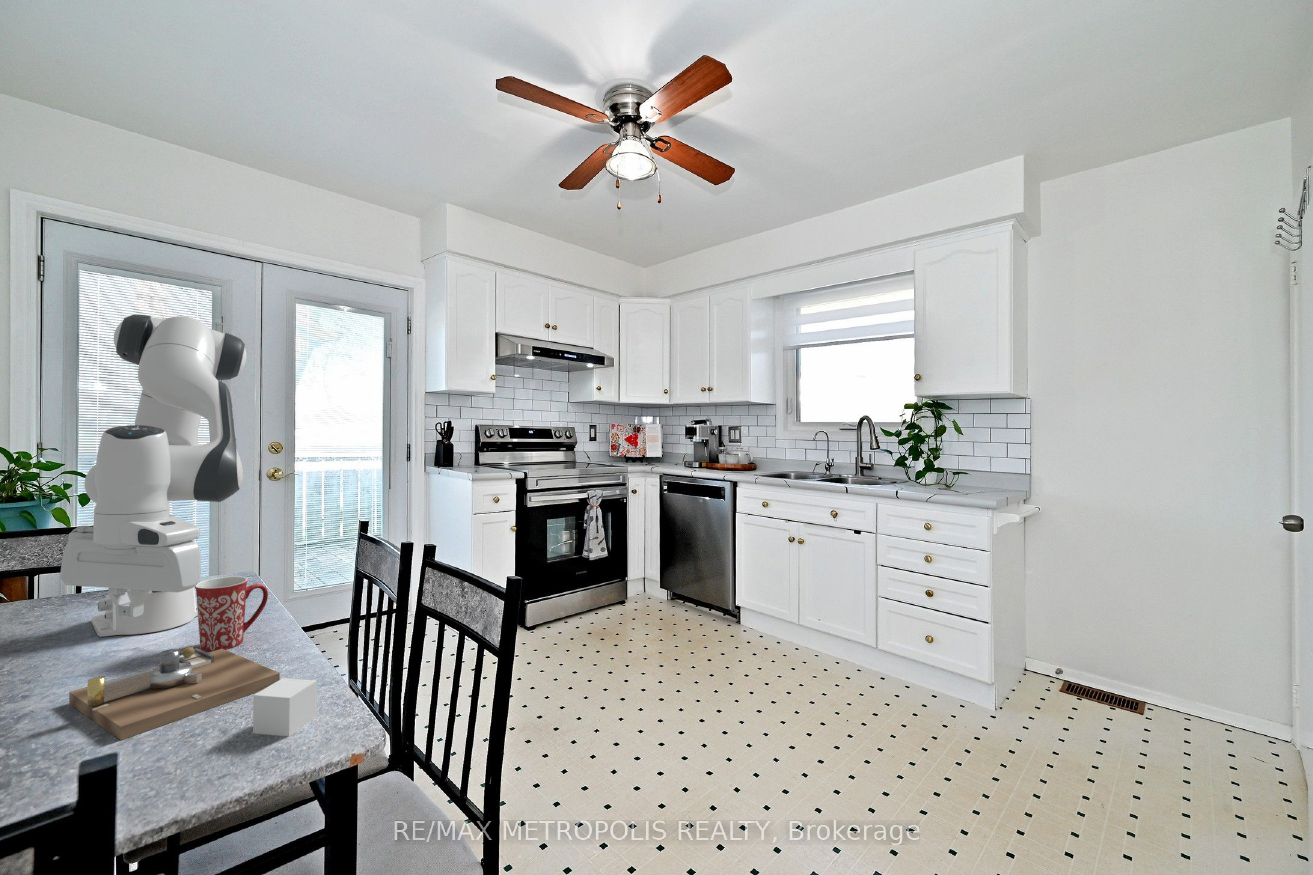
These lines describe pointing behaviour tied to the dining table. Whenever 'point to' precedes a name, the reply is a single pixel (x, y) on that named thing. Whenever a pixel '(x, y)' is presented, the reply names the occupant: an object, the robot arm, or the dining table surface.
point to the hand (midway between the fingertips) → (129, 615)
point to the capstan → (143, 679)
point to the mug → (224, 611)
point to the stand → (179, 694)
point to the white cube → (284, 707)
